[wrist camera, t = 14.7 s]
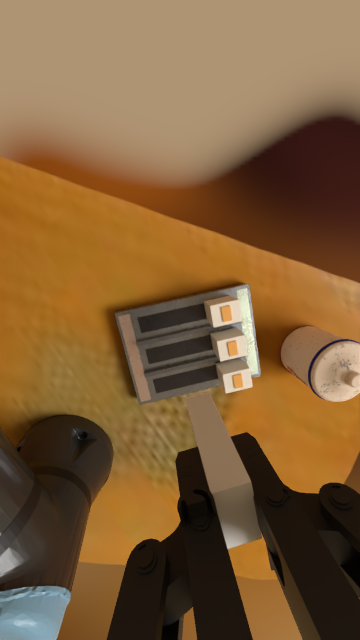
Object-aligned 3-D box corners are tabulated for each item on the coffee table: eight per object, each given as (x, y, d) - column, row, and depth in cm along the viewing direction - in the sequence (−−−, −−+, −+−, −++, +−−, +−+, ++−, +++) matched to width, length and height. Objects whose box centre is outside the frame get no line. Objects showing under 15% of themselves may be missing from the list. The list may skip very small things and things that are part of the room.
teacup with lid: (271, 370, 43) (314, 408, 32) (287, 319, 42) (339, 340, 30) (332, 381, 45) (393, 421, 34) (351, 333, 43) (421, 358, 32)
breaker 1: (207, 320, 38) (214, 327, 34) (203, 301, 37) (210, 306, 33) (233, 314, 38) (243, 321, 34) (230, 295, 37) (239, 299, 33)
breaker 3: (218, 380, 40) (226, 394, 36) (215, 363, 39) (223, 375, 35) (242, 374, 40) (253, 387, 36) (240, 357, 40) (250, 368, 36)
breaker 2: (213, 351, 39) (220, 362, 35) (210, 333, 38) (217, 341, 34) (238, 345, 39) (248, 355, 35) (235, 327, 38) (245, 335, 34)
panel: (139, 398, 42) (139, 407, 39) (116, 310, 38) (113, 314, 35) (256, 370, 43) (263, 377, 40) (244, 283, 39) (251, 284, 37)
